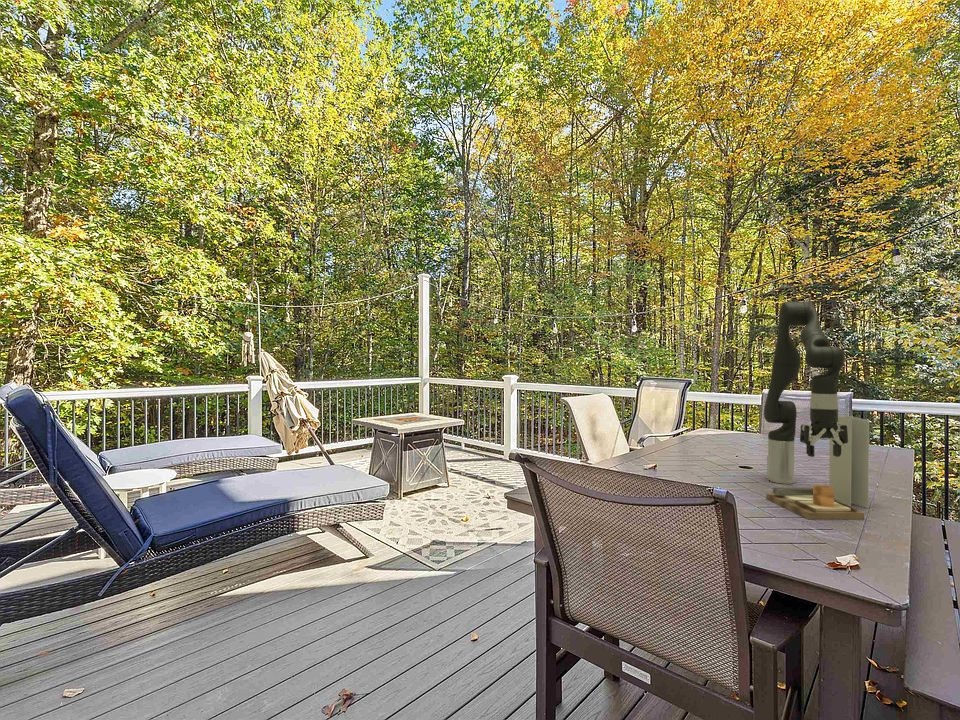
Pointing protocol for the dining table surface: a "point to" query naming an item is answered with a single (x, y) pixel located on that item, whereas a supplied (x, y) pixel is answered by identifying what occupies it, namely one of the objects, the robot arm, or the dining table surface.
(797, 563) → the dining table surface
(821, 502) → the wooden block on base
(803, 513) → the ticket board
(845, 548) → the dining table surface
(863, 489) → the folded green panel
